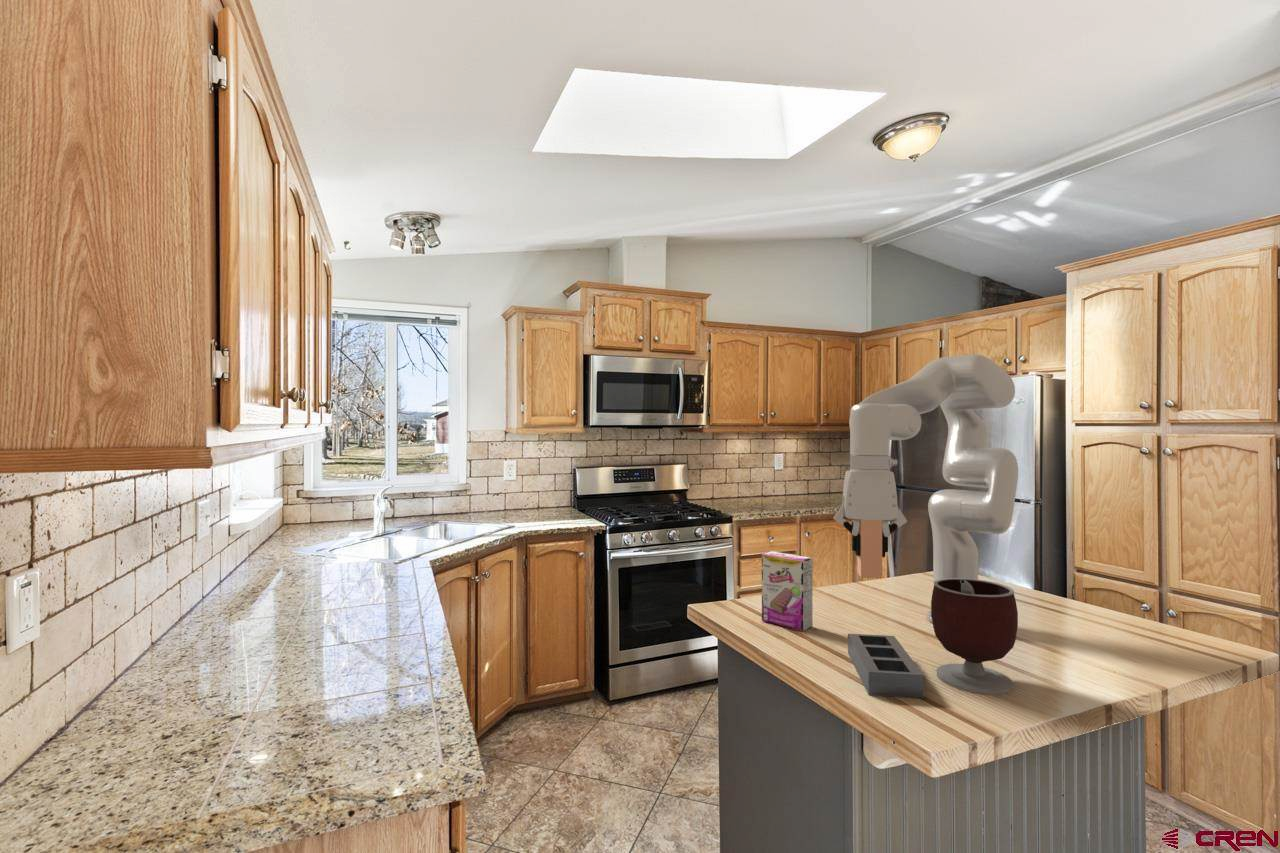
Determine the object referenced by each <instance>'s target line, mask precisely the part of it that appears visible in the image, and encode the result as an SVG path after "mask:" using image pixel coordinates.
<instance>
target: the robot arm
mask: <svg viewBox="0 0 1280 853" xmlns="http://www.w3.org/2000/svg"><path fill="white" fill-rule="evenodd" d="M1015 394H1016V386H1015V382H1014V380H1013V379H1012V377H1011V375H1010V374H1009V373H1008V372H1007V371H1006V370H1005V369H1003V367H1001V366H1000V365H998V363H996V362H995V361H993V360H992V359H991V358H989V357H988V356H984V355H982V354H978V353H977V354H976V353H973V354H963V355H955V356H952V355H951V356H944V357H943V356H942V357H939V358H934V360H931V361H930V362H928V363H927V364H926V365H925V366H924V367H922V369H920V370H919V371H918V372H917V373H916V374H914V375H913V376H911V377H910V378H909V379H907V380H904V381H902V382H900V383H897V384H894V385H892V386H889V387H886V388H884V389H881V390H879V391H877V392H875V393H872V394H871V395H869V396H866V397H865V398H864V399H863V400H862V401H860V402H859V403H858V404H854V405H853V406H852V407H851V408H850V415H849V419H848V420H849V421H848V424H849V445H850V446H849V454H850V455H849V468H850V469H849V470H845V475H844V478H843V479H844V481H843V487H842V501H841V502H842V504H841V506H840V507H839V509H838V510H837V512H836V513H835V515H834V516H833V520H834V521H836V523H838V524H840V525H841V526H843V527H844V528H845V529H846V530H847V531H848V532H849V533H850V534H851V550H852V552H854V554H855V555H856V556H857V557H858V556H860V555H861V537H860V536H859V527H860V521H861V519H862V520H882V558H885V557H886V553H888V552H889V537H890V536H891V534H893V533H894V532H895V531H896V530H897V529H898V528H901V527H902V526H903V525H905V524H907V522H908V520H907V518H906V517H905V515H904V514H903V512H902V511H901V509H900V508H899V506H898V493H897V486H896V484H897V483H896V478H895V474H894V472H893V471H891V470H892V469H891V468H892V467H894V466H895V467H896V466H898V459H897V458H895V459H894V458H892V457H891V456H890V455H891V441H903V440H904V441H905V440H909V439H912V438H914V437H915V436H916V435H917V434H918V433H919V432H920V431H921V427H922V417H921V415H922V414H926V413H930V412H932V411H933V410H935V409H936V408H938V407H939V406H940V408H941V411H942V413H943V415H944V417H945V420H946V423H947V427H948V428H947V429H948V433H947V440H946V445H945V451H944V454H943V455H944V456H943V462H942V472H941V473H942V476H943V480H945V481H946V482H947V483H948V484H951V485H953V486H958V487H959V486H960V487H973V488H985V489H988V491H975V490H969V489H968V490H967V489H954V488H953V489H948V488H945V489H941V490H938V491H935V492H934V493H932V495H931V496H930V497H929V500H928V504H927V507H928V508H927V510H928V516H929V520H930V525H931V531H932V544H933V545H932V548H933V549H932V550H933V551H932V552H933V553H932V554H933V556H932V559H933V561H932V562H933V563H932V566H933V567H932V568H933V570H932V571H933V572H932V573H933V575H932V576H933V578H932V579H933V583H934V582H935V581H936V580H939V579H945V578H966V579H977V580H979V550H978V546H977V544H976V542H975V540H974V539H973V537H972V536H971V534H970V533H969V532H973V533H980V534H981V533H982V534H991V535H1002V534H1004V533H1006V532H1007V531H1008V530H1009V528H1010V526H1011V523H1012V519H1013V515H1014V514H1013V513H1014V507H1015V502H1016V501H1015V500H1016V493H1017V487H1018V480H1019V465H1018V464H1019V463H1018V459H1017V458H1016V456H1015V454H1014V453H1013V452H1012V451H1011V450H1010V449H1006V448H1002V447H987V440H988V428H987V426H986V424H985V423H984V422H983V420H982V419H981V418H980V417H979V416H978V414H976V412H974V410H973V409H975V410H979V409H983V410H984V409H1000V408H1004V407H1005V408H1006V407H1007V406H1009V405H1010V404H1011V403H1012V402H1013V400H1014V398H1015ZM844 517H845V518H847V519H848V520H851V523H850V522H849V521H848V520H846V519H845V518H844ZM889 522H890V523H889ZM926 619H927V620H928V621H929V622H931V623H932V616H931V610H930V611H927V612H926Z"/></svg>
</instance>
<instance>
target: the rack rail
mask: <svg viewBox="0 0 1280 853" xmlns="http://www.w3.org/2000/svg"><path fill="white" fill-rule="evenodd" d="M847 654H848V657H849V658H850V660H851V662H852V664H853V666H854V668H855V670H856V672H857V674H858V677H859V678H860V680H861V682H862V684H863V686H864V688H865V691H866V693H867V695H868V696H876V697H891V698H892V697H893V698H907V699H908V698H909V699H921V700H923V699H924V700H925V675H924V673H923V672H922V671H921V669H920V668H919V666H918V665H917V664H916V663H915V662H914V660H913V659H912V658H911V656H910V655H909V654H908V652H907V651H906V650H905V648H904V647H903V646H902V644H901V643H900V642H899V641H898V639H897V638H896V636H895V635H886V634H885V635H883V634H863V633H847Z"/></svg>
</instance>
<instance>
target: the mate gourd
mask: <svg viewBox="0 0 1280 853" xmlns="http://www.w3.org/2000/svg"><path fill="white" fill-rule="evenodd" d="M932 589H933V590H932V594H931V600H930V606H931V607H930V611H931V616H932V622H931V623H932V628H933V631H934V635H935V637H936V638H937V640H938V642H940V644H941V645H942V647H943V648H944V649H945V650H946V651H947V652H950V653H951V654H953V655H956V656H957V657H960V658H962V659H964V660H965V661H964V663H947V664H943V665H939V666H938V667H937V669H936V670H935V671H936V678H938V679H939V680H940V681H941V682H942V683H944V684H945V685H947V686H949V687H952V688H955V689H958V690H961V691H965V692H969V693H975V694H979V693H980V694H979V695H1004V694H1008V693H1010V692H1012V691H1011V690H1013V689H1014V681H1013V680H1012V679H1011V678H1010V677H1009V676H1008V675H1006V674H1004V673H1002V672H1000V671H998V670H995V669H992V668H988V667H986V666H985V667H984V665H983V663H984V662H989V661H991V662H992V661H996V660H1001V659H1003V658H1004V657H1005V656H1006V655H1007V654H1009V652H1010V651H1011V650H1012V649H1013V648H1014V646H1015V643H1016V640H1017V633H1018V627H1019V624H1018V623H1019V616H1018V615H1019V614H1018V613H1019V612H1018V606H1017V601H1016V600H1017V599H1016V597H1015V596H1016V595H1015V593H1014V592H1015V590H1014V589H1013V588H1011V587H1010V586H1008V585H1004V584H1002V583H998V582H993V581H988V580H983V579H978V580H977V579H966V578H945V579H939V580H936V581H935V582H934V581H933V588H932ZM1009 691H1010V692H1009ZM1007 692H1008V693H1007ZM1003 693H1004V694H1003Z"/></svg>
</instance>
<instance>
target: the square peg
mask: <svg viewBox="0 0 1280 853" xmlns="http://www.w3.org/2000/svg"><path fill="white" fill-rule="evenodd" d="M859 536H860V537H861V555H860V556H857V575H859V577H860V578H862V579H883V557H882V520H862V519H861V521H860V527H859Z"/></svg>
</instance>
